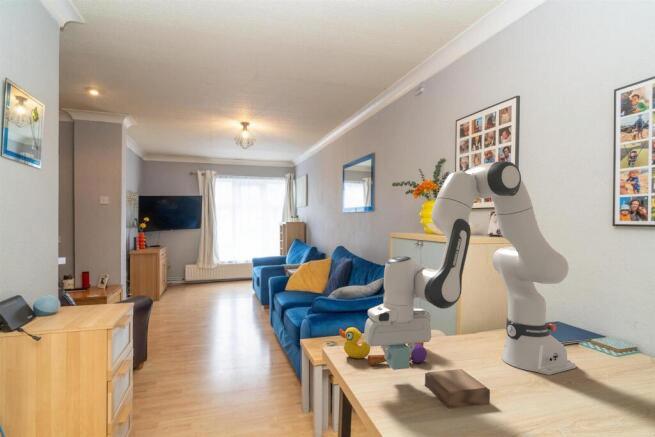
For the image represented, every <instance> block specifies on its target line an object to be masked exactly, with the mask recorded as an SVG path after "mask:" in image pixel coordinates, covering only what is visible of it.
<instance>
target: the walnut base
mask: <svg viewBox="0 0 655 437" xmlns="http://www.w3.org/2000/svg"><path fill="white" fill-rule="evenodd" d="M424 375H425V376H424V377H425V378H424V386H425V387H426V388H427V389H428V390H429V391H430V392H431V393H432V394H433V395H434V396H435V397H437V399H438V400H440V402H442V404H444V405H445V406H446V407H447V408H448V409H454V408H462V407H464V408H465V407H473V406H478V405H479V406H480V405H488V404H490V402H491V400H490V399H491V391H490V390H491V389H490V388H488V387H487V386H486V385H484V384H483V383H481V382H480V381H479V380H477V379H476V378H475V377H473V376H472V375H471V374H469V373H467V372H466V371H465V370H463V369H462V368H460V369H459V368H458V369H450V370H449V369H448V370H435V371H428V372H425V373H424Z"/></svg>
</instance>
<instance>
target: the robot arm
mask: <svg viewBox="0 0 655 437" xmlns="http://www.w3.org/2000/svg"><path fill="white" fill-rule="evenodd" d="M489 198H491V199H492V201H493V207H494V211H495V216H496V219H497V224H498V227H499V228H498V229H499V231H500V234H501V236H502V237H503V238H504V239H505V240H506V241H508V242H509V243H510V244H511V245H512V246H506V247H500V248H498V249H497V250H496V251H495V252H494V253H493V256H492V260H491V261H492V265H493V268H494V270H495V271H496V272H497V273H498V274H499V276H500V277H501V279H502V282H503V284H504V287H505V291H506V294H507V317H506V325H505V328H506V336H505V344H504V349H503V351H502V352H503V353H502V354H501V359H502V360H503V361H504V362H505V363H506V364H508V365H510V366H513V367H514V368H518V369H521V370H526V371H530V372H535V373H540V374H543V375H547V376H550V375H554V374H558V373H561V372H565V371H569V370H572V369H576V368H577V365H576V362H574V361H572V360H571V359H569V358H568V351H567V348H566V346H565V345H564V344H562V343H561V342H560V341H559V340H558V339H556V338H555V337H554V336H552V335H551V332H550V331H552V332H556V330H557V326H556V325H555V324H552V323H549V324H548V323H546V321H547V320H546V316H547V314H546V312H547V310H546V309H547V307H546V306H547V301H546V299H545V298H544V296H543V295H542V294H541V293H540V292H539V290H537V288H536V287H535V284H534V283H538V284H541V285H543V284H544V285H545V284H546V285H551V284H560V283H562V282H563V281H564V280H565V279H566V278H567V277H568V273H569V269H570V268H569V264H568V261H567V259H566V258H565V256H564V255H562V254H561V253H559V252H558V251H557V250H555V249H554V248H553V247H552V245H550V243H549V242H548V241H547V240H546V238H545V237H544V235H543V234H542V232H541V230H540V228H539V225H538V221H537V219H536V214H535V211H534V206H533V203H532V199H531V196H530V194H529V192H528V189H527V187H526V185H525V183H524V181H523V180H522V176H521V171H520V169H519V168H518V167H517V165H516V164H515V163H513V162H511V161H507V160H498V161H495V162H486V163H481V164H479V165H475V166H474V167H468V168H465V169H464V170H462V171H454V172H452V173H450V174H449V175H448V176H447V177H446V179H445V180H444V182H443V184H442V185H441V188H440V189H439V192H438V193H437V196H436V199H435V201H434V203H433V206H432V210H431V215H430V216H431V221H432V223H433V225H434V227H435V228H437V230H439V231H440V232H441V233H443V235H444V237H445V240H446V241H445V242H446V243H445V248H444V251H443V255H442V259H441V263H440V264H441V265H440V266H439V268H438V269H434V268H431V267H427V266H425V265H422V264H420V263H419V262H416V261H415V260H414V259H412V258H411V257H410V256H407V255H402V256H394V257H391V258H390V259H388V260H387V261H386V263H385V265H384V266H385V267H384V272H383V290H384V296H383V299H382V300H383V303H381V304H378V305H375V306H373V307H370V308H369V309H368V310H367V316H368V318H367V319H366V322H365V325H364V332H363V333H364V334H363V339H364V340H365V342H366V343H367V344H368V345H369V346H370V347H381V349H382V351H383V355H384V358H385V359H386V360H390V359H391V353H390V352H387V349H388V345H396V344H406V345H407V346H408V344H409V346H408V347H409V348H410V355H409V358H411V352H412V351H413V349H414V348H415V343H422V342H424V343H430V341H431V339H432V329H431V314H430V313H429V312H428V311H427V310H425V309H423V310H421V311H414V308H415V306H414V302H415V299H417V298H418V299H421V300H422V301H425V302H426V303H427V302H428V303H429V304H431V305H433V306H434V307H436V308H438V309H440V310H441V309H448V308H451V307H452V306H454V305H455V304H457V302H458V301H459V300H460V297H461V294H462V290H463V288H462V286H463V285H462V284H463V281H462V280H463V273H464V269H465V265H466V264H465V263H466V259H467V254H468V250H469V245H470V241H471V231H472V230H471V226H470V224H469V221H470V220H469V219H470V215H471V212H472V211H473V210H472V209H473V206H474V203H475V200H476V199H489ZM364 340H363V341H364Z"/></svg>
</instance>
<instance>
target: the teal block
mask: <svg viewBox="0 0 655 437" xmlns="http://www.w3.org/2000/svg"><path fill="white" fill-rule="evenodd" d="M386 350H387V352H390V353H391V359H390V360H387V361H386V364H387V365H388V366H389V367H390V368H391V369H392V370H393V371H394V370H406V369H410V361H409V355H410V348H409V347H408V344H396V345H388V349H386Z"/></svg>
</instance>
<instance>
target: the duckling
mask: <svg viewBox="0 0 655 437" xmlns="http://www.w3.org/2000/svg"><path fill="white" fill-rule="evenodd" d="M338 333H339V335H340V337H341V338H343V339H345V340H346V342H345V343H344V345H343V349H344V352H345V354H346V355H348V356H349V357H350V358H352V359H353V358H354V359H363V358H367V357H368V355H370V351H371V346H369V345H368V344H367V343H366V342H365V340H363V341H362V344H361V345H359V343H358V342H359V341H360V340H361V338H362V336H363V335H362V333H361V331H359V329H358V328H356V327H353V326H352V327H348V328H347V329H346V330H345V331H344V330H343V329H342V328H340V329H339V332H338Z"/></svg>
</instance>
